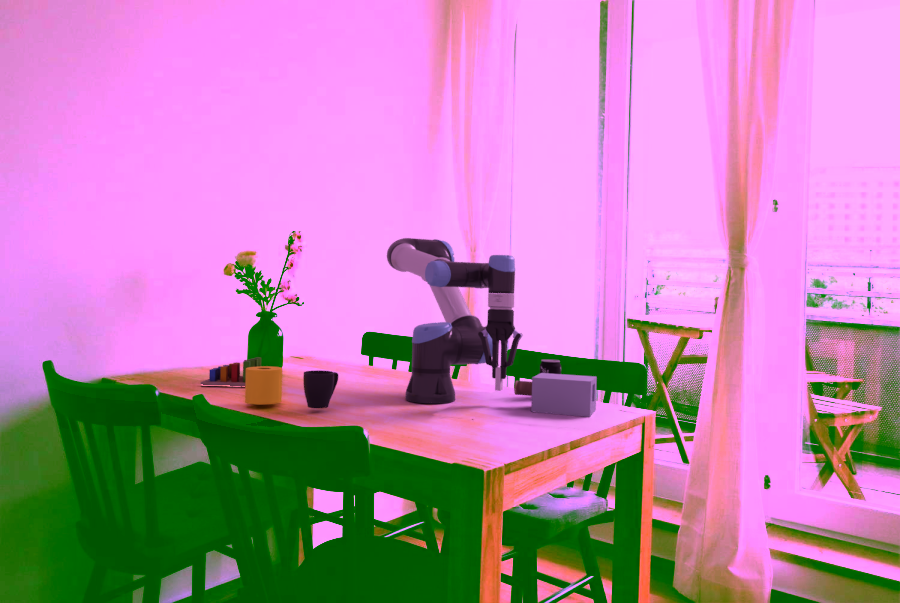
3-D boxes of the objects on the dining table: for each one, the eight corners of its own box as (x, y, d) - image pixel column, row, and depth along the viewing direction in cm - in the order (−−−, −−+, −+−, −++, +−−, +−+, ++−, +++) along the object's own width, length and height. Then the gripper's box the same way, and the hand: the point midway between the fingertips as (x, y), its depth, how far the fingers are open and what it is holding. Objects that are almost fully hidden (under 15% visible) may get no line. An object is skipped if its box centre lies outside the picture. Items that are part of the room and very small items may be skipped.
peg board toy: (220, 379, 236) (220, 355, 236) (269, 381, 236) (269, 356, 235) (199, 386, 219) (200, 360, 219) (252, 388, 218) (253, 362, 218)
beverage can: (559, 400, 206) (560, 361, 206) (538, 399, 208) (539, 360, 207) (560, 397, 213) (561, 359, 212) (539, 396, 214) (540, 358, 214)
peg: (514, 395, 191) (514, 381, 191) (517, 393, 195) (517, 379, 195) (555, 398, 187) (556, 384, 187) (558, 396, 191) (558, 382, 191)
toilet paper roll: (266, 397, 198) (266, 365, 198) (288, 401, 192) (289, 368, 192) (237, 401, 190) (238, 368, 190) (260, 405, 184) (261, 371, 184)
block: (531, 411, 186) (532, 377, 185) (540, 405, 197) (541, 372, 197) (589, 416, 180) (591, 381, 180) (595, 409, 192) (596, 376, 191)
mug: (348, 404, 189) (349, 370, 189) (319, 410, 179) (320, 374, 179) (325, 401, 194) (326, 368, 194) (296, 407, 183) (297, 372, 183)
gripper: (475, 308, 193) (473, 390, 193) (519, 309, 189) (517, 393, 189) (483, 307, 200) (481, 386, 200) (525, 309, 196) (523, 389, 196)
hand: (498, 389), depth 195 cm, fingers closed
